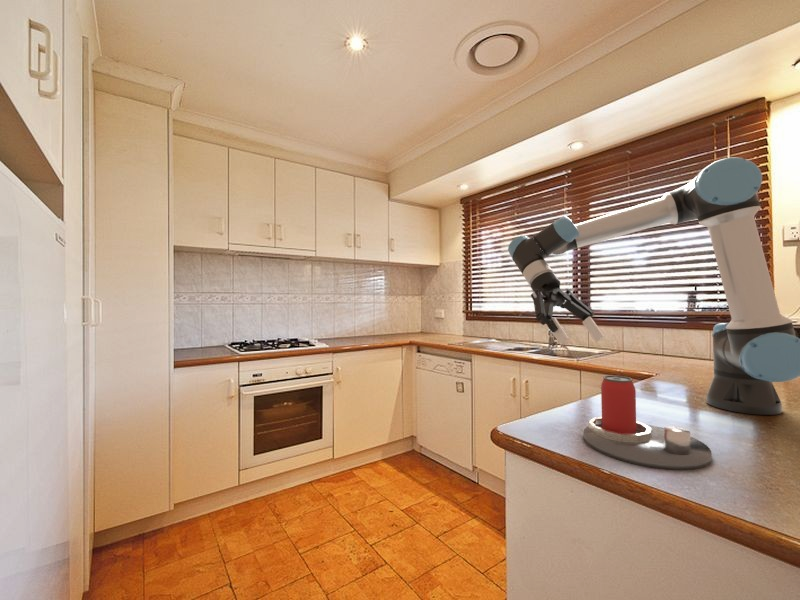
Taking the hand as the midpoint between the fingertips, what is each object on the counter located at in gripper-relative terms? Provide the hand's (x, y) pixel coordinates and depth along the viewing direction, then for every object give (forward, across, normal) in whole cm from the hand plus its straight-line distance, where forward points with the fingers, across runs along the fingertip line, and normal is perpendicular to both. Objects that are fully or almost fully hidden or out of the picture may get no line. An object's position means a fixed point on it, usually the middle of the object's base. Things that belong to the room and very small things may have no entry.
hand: (583, 340), depth 94 cm
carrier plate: (+26, +4, +1) cm, 27 cm away
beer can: (+22, +4, -3) cm, 23 cm away
